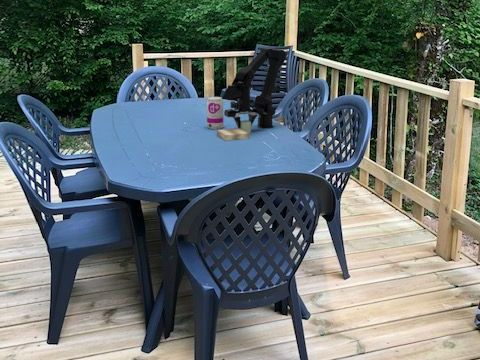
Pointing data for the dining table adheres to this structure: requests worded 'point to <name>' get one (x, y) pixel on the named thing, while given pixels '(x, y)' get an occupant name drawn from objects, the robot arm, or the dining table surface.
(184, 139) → the dining table surface
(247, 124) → the cube
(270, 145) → the dining table surface
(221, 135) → the base slab
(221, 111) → the supplement can
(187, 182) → the dining table surface
